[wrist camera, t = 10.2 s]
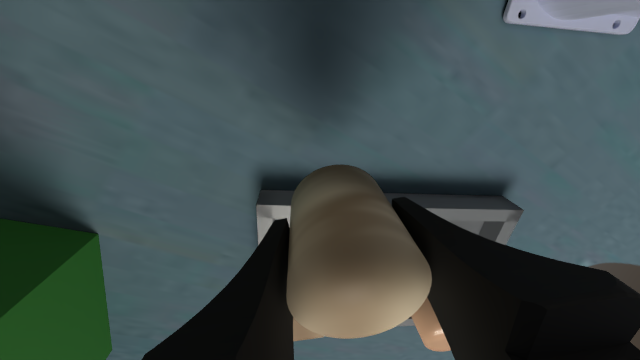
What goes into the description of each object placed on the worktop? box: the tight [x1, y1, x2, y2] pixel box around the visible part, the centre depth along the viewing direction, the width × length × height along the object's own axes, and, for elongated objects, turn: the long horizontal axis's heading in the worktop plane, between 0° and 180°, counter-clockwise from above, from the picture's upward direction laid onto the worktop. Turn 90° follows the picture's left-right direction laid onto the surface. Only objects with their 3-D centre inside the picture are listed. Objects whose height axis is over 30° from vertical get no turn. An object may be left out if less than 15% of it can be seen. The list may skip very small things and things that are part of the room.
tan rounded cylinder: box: [411, 298, 451, 351], centre depth 23 cm, size 5×5×6 cm
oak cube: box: [293, 317, 324, 341], centre depth 24 cm, size 4×4×4 cm
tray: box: [256, 190, 524, 326], centre depth 24 cm, size 22×15×2 cm
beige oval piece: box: [286, 165, 432, 338], centre depth 11 cm, size 5×5×6 cm
